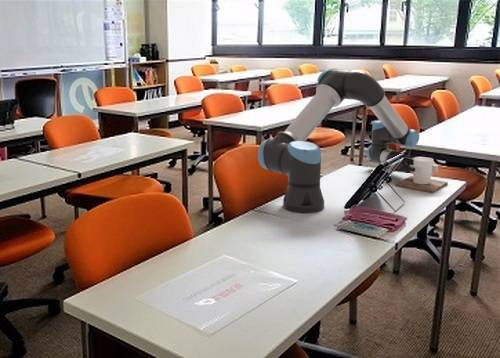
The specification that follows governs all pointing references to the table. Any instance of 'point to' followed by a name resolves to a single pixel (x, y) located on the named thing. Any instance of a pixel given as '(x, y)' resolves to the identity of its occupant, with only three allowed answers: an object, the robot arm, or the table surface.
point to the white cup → (423, 170)
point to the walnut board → (421, 185)
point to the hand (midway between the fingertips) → (429, 170)
